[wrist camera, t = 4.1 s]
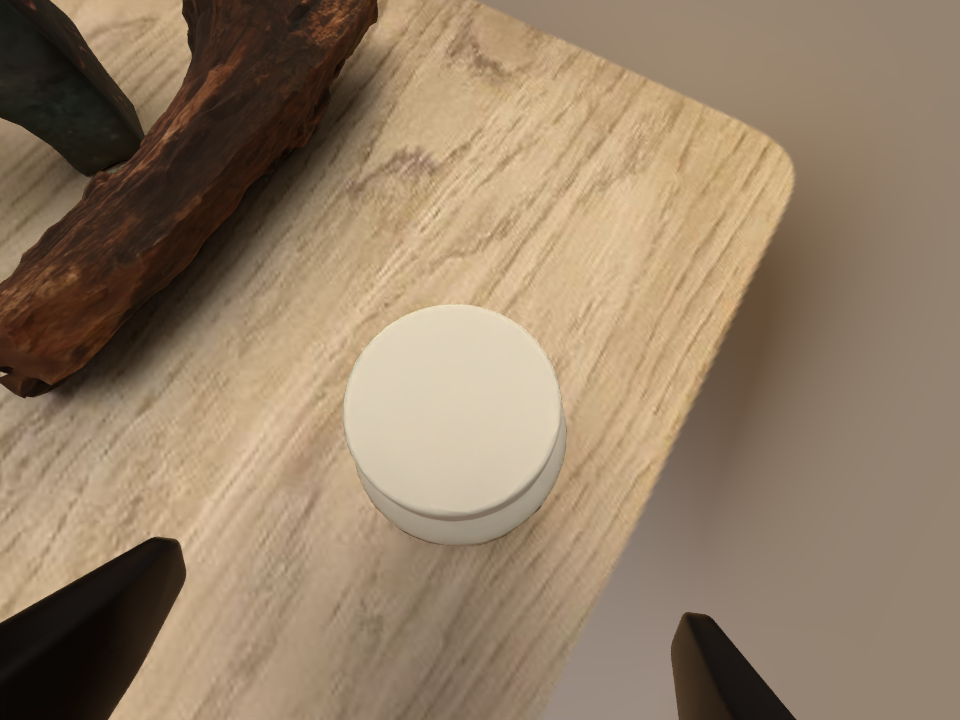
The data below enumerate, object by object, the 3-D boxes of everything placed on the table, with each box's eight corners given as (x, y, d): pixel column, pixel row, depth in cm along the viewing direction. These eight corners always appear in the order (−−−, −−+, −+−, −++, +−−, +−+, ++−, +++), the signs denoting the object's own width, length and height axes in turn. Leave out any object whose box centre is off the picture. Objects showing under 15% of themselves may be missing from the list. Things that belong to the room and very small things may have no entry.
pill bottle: (565, 510, 20) (639, 481, 10) (423, 569, 19) (362, 596, 9) (508, 377, 21) (526, 248, 12) (376, 427, 21) (286, 332, 11)
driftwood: (270, 17, 28) (191, -174, 21) (403, 57, 27) (371, -129, 20) (-1, 381, 22) (-267, 294, 14) (162, 454, 20) (-30, 404, 13)
